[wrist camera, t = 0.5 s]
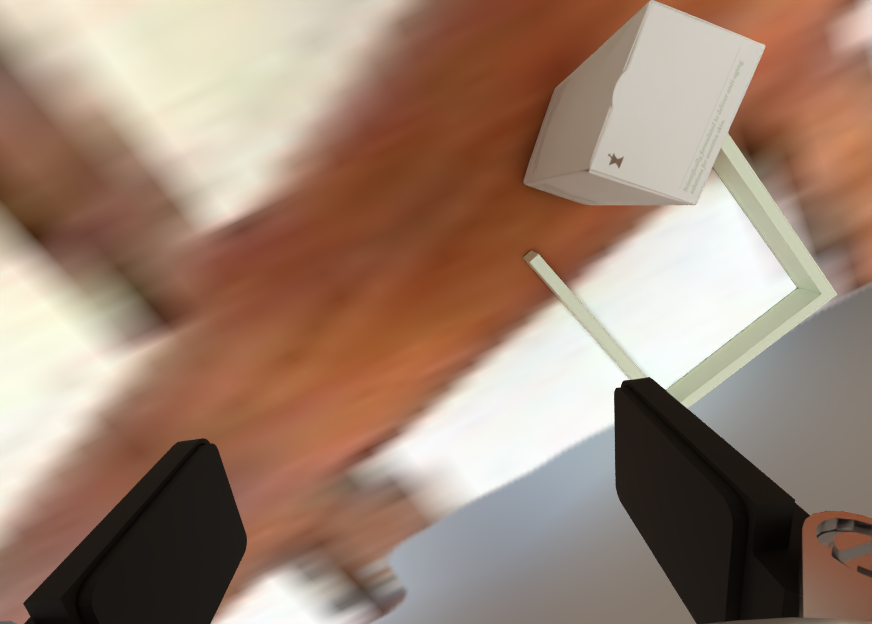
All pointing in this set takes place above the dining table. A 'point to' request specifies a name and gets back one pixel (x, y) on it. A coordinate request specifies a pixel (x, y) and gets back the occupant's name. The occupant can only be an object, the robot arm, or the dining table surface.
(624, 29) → the skincare box
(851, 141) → the dining table surface
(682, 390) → the open-sided frame
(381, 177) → the dining table surface
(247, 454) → the dining table surface
